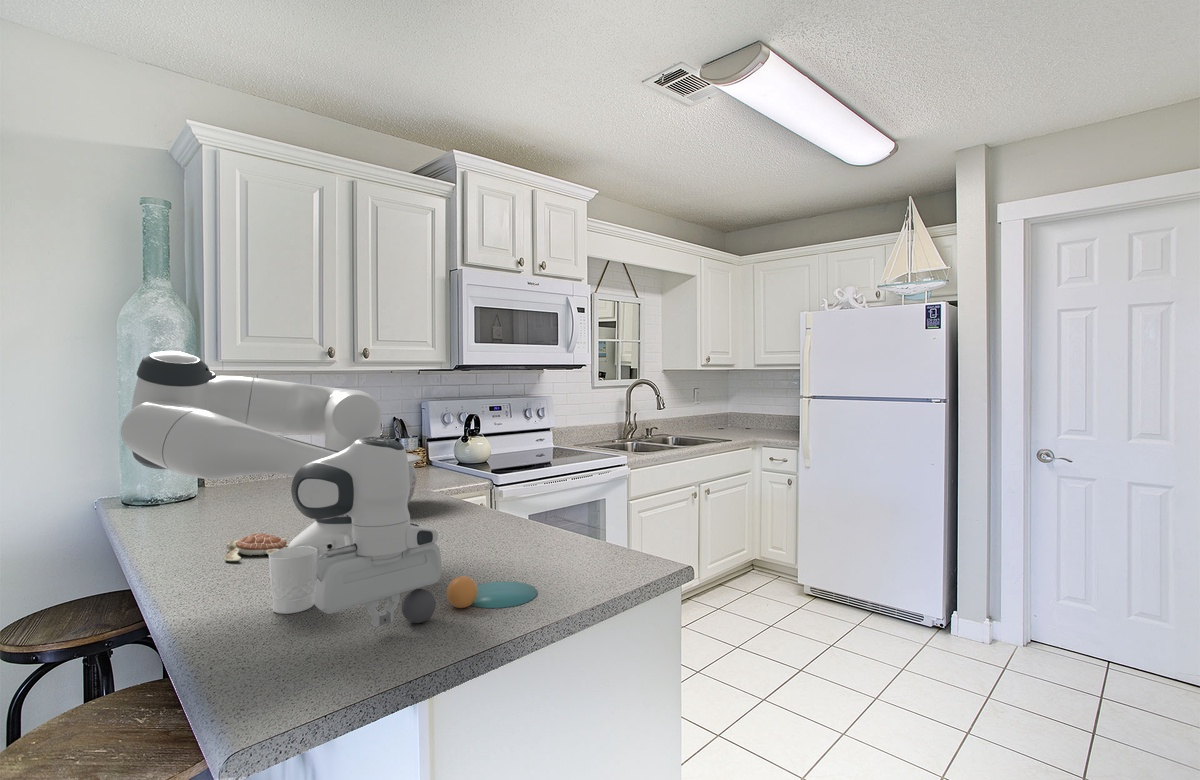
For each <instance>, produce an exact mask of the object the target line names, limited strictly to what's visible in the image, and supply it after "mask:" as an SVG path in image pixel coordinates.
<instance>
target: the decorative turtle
mask: <svg viewBox="0 0 1200 780" xmlns="http://www.w3.org/2000/svg"><path fill="white" fill-rule="evenodd" d="M287 540H288V539H287V538H281V537H279V536H276V535H273V534H269V533H262V532H261V533H252V534H248V535H247V536H244V537H242V538H241V539H238V540H235V539H234V540H231V541H228V543H227V544H226V549H227V551H229V552H228V553H226V554H225V556H224V560H225V561H226V562H227V561H228V562H239V561H241V560H242V557H241V556H240V555H239V554H241V555H246V556H252V555H259V556H265V555H264V554H267V555H268V556H269V554H270V553H272V552H274V551H277V550H280V549H284V548H288V546H289V544H290V542H287Z"/></svg>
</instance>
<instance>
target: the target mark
mask: <svg viewBox="0 0 1200 780" xmlns="http://www.w3.org/2000/svg"><path fill="white" fill-rule="evenodd" d="M476 585H477V584H476ZM477 588H478V594H477V597H476V599H475V601H474V602H473V603H472V604H471V605H470V606H472V607H477V608H483V609H504V608H511V607H516V606H521V605H523V604H527V603H528V602H530V601H533V600H534V599H535V598H536V597H537V595H538V591H537V589H536V587H534V586H533V585H531V584H527V583H525V582H520V581H519V582H518V581H505V580H504V581H493V582H492V581H491V582H486V583H481V584H478V585H477Z"/></svg>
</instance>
